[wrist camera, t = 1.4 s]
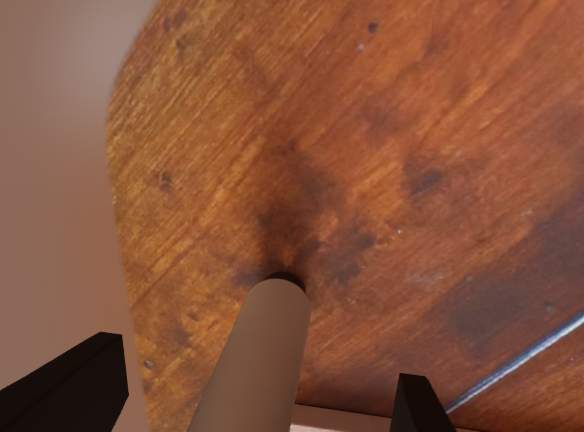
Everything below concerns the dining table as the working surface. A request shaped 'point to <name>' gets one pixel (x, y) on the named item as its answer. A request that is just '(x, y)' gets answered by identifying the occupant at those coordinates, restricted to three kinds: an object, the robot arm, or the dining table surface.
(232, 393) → the stylus
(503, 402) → the dining table surface
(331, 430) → the tablet
